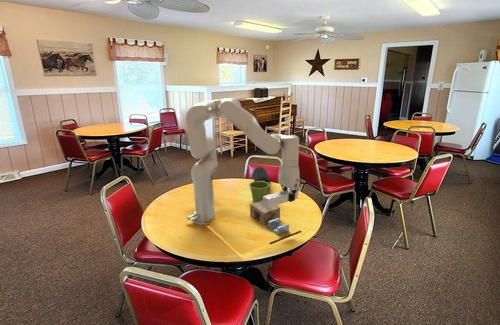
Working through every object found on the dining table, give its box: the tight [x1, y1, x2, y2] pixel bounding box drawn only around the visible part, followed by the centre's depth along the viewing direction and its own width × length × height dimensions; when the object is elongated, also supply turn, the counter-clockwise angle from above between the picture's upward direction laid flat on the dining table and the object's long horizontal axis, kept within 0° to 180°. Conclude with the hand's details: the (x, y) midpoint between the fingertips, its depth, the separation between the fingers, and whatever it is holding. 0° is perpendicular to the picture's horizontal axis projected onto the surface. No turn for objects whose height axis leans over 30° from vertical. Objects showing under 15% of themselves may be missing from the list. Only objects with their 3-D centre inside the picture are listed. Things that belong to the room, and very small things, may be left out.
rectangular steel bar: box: [263, 188, 299, 208], centre depth 133 cm, size 18×4×4 cm, turn 125°
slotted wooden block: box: [249, 201, 281, 226], centre depth 147 cm, size 10×12×8 cm
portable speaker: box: [252, 166, 271, 190], centre depth 193 cm, size 26×10×10 cm, turn 4°
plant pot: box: [248, 181, 271, 203], centre depth 167 cm, size 12×12×11 cm
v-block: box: [267, 218, 302, 245], centre depth 136 cm, size 18×12×5 cm, turn 124°
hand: (288, 199), depth 136 cm, fingers closed on rectangular steel bar, 4 cm apart
